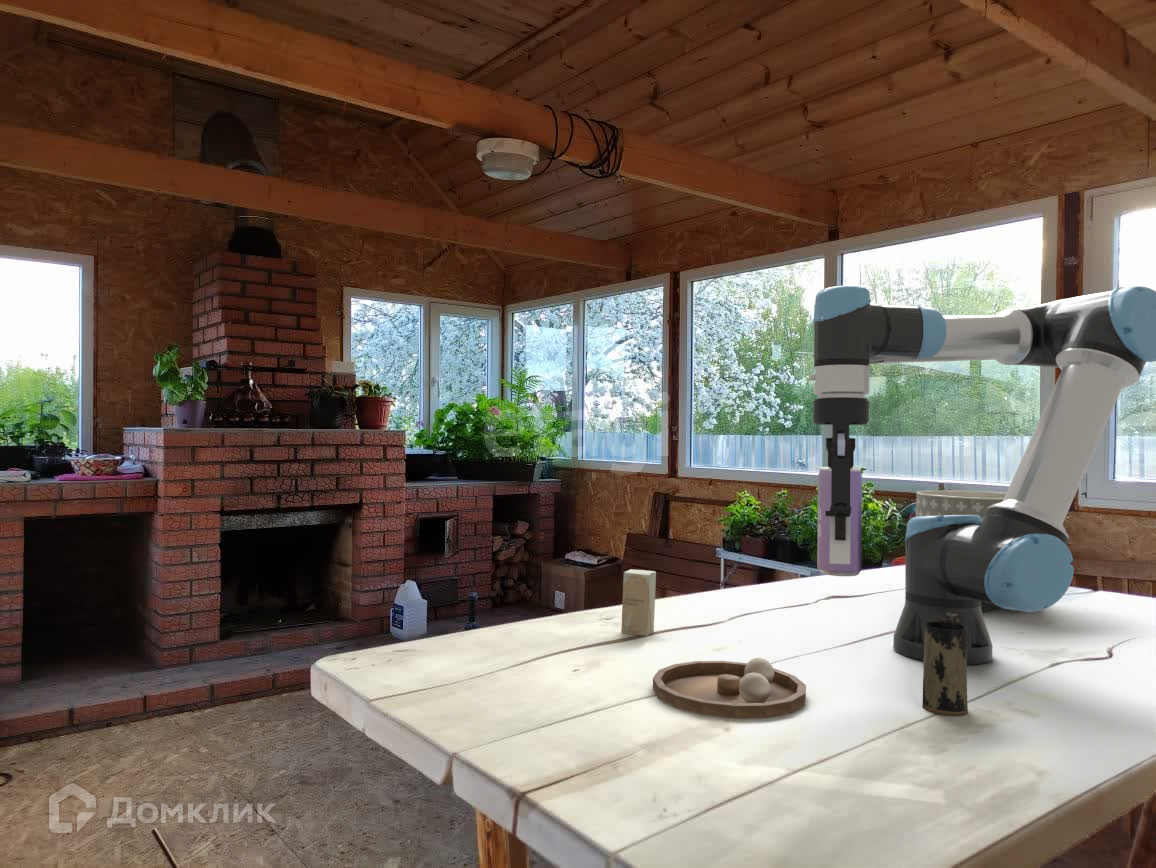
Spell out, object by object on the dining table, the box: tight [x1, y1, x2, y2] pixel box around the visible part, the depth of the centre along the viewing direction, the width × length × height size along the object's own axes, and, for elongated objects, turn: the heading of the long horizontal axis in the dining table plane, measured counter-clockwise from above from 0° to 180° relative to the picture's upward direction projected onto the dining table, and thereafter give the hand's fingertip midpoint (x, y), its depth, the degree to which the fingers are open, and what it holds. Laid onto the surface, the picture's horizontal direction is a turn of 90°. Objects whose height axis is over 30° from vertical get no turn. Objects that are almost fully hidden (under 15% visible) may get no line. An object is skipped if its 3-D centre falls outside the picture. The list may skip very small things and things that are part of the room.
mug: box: [921, 613, 969, 717], centre depth 109 cm, size 8×6×12 cm
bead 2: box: [739, 673, 770, 703], centre depth 106 cm, size 4×4×4 cm
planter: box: [915, 489, 1007, 608], centre depth 181 cm, size 25×25×24 cm
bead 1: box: [745, 657, 775, 684], centre depth 113 cm, size 4×4×4 cm
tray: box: [652, 660, 807, 719], centre depth 111 cm, size 20×20×3 cm
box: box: [620, 568, 657, 637], centre depth 148 cm, size 5×4×11 cm
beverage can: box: [816, 466, 863, 577], centre depth 116 cm, size 6×6×15 cm
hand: (839, 559), depth 116 cm, fingers closed on beverage can, 6 cm apart
